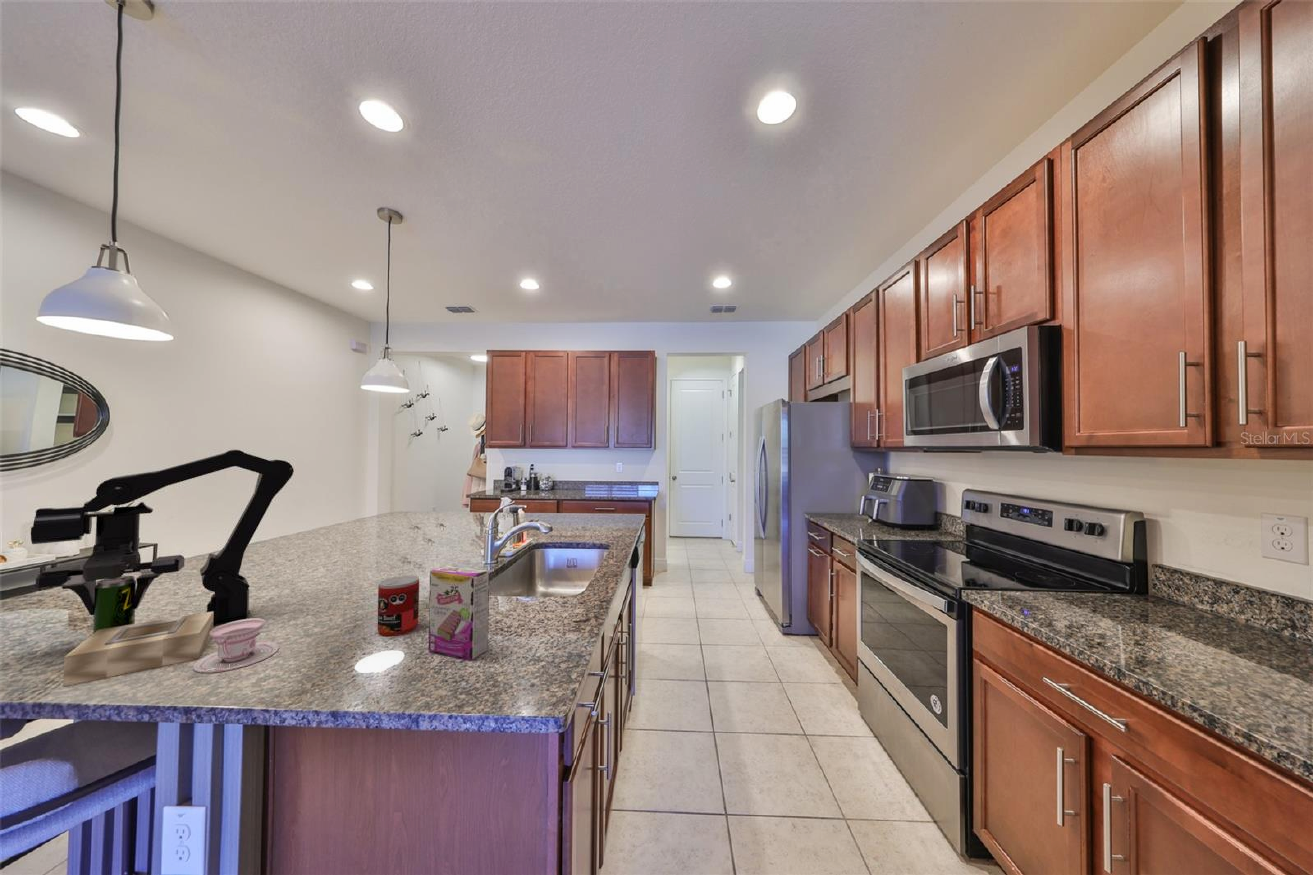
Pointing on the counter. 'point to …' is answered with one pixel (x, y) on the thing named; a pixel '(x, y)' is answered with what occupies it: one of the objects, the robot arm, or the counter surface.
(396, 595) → the canned food
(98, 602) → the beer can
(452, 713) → the counter surface
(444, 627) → the candy bar box
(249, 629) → the teacup
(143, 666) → the socket block
